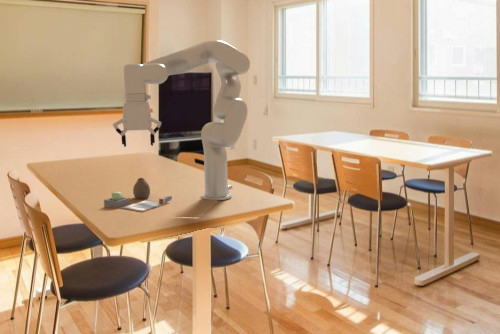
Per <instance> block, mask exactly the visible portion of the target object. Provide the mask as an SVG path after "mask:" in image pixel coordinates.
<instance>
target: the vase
mask: <svg viewBox="0 0 500 334" xmlns="http://www.w3.org/2000/svg"><path fill="white" fill-rule="evenodd" d="M132 192H133V196H134V198H135V199H137V200H147V199H148V198H149V197H150V195H151V188H150V185H149V183H148V182H147V180H145V178H144V177H140V178H137V180H136V182H135V184H134V185H133V189H132Z"/></svg>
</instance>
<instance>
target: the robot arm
mask: <svg viewBox="0 0 500 334" xmlns="http://www.w3.org/2000/svg"><path fill="white" fill-rule="evenodd" d="M250 61H251V60H250V58H249V57H248V55H247V54H245V53H244V52H243V51H241V50H239V49H237V48H236V47H234V46H233V45H230V43H227V42H226V41H223V40H220V39H216V40H215V39H214V40H206V41H203V42H200V43H198V44H195V45H192V46H189V47H186V48H184V49H182V50H178V51H176V52H173V53H172V52H171V53H170V54H168V55H165V56H160V57H158V58H155V59H152V60H150V61H147V62H145V63H142V64H141V63H127V64H125V65H124V66H123V81H124V82H123V83H124V96H125V97H124V99H125V100H124V101H125V102H123V105H122V118H121V119H119V120H117V121H115V122H114V123H112V126H113V128H114V130H115V131H116V133H118V134H119V135H120V136H121V145H123V148H125V147H127V138H126V133H127V132H128V131H147V130H148V131H149V133H150V135H149V137H150V146H151V147H152V146H154V144H155V140H156V139H155V134H157V132H158V131H160V128H161V126H162V121H159V120H158V119H155V118H153V117H152V114H151V113H152V111H151V107H150V102H149V101H148V100H150V99H151V94H147V85H161V84H163V83H164V82H166V81H167V80H168V78H169V76H172V75H181V74H186V73H189V72H192V71H194V70H196V69H198V68H201V67H204V66H206V65H209V64H211V63H213V64H214V63H215V68H216V71H217V73H218V75H219V77H220V87H219V90H218V92H217V97H216V99H215V102H214V105H213V108H212V115H213V117H214V118H215V119H217V120H219V121H222V122H219V121H211V122H208V123H205V124H204V126H202V129H201V131H200V138H201V143H202V148H203V163H204V164H203V165H204V167H203V169H204V173H203V174H204V192H203V193H202V194H201V196H200V197H201V198H202V199H203V200H211V201H225V200H229V199H230V198H232V193H230V192H229V191H230V190H232V189H233V187H234V186H233V185H232V184H229V185H228V153H227V152H228V151H227V148H232V147H234V146H235V145H236V144H238V141H239V139H240V138H241V137H240V136H241V134H242V132H243V129H244V126H245V123H246V121H247V116H248V106H247V104H246V102H245V101H244V100H243V99H241V98H239V97H240V94H241V91H242V90H241V89H242V85H241V80H240V78H239V75H240V76H241V75H244V74H246V73H247V72H248V71H249V69H250V67H251V63H250ZM152 123H154V124H156V126H155V127H154V128H152ZM121 124H122V126H123V130H121V129H120V128H119V127H118V126H119V125H121Z"/></svg>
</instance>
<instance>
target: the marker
mask: <svg viewBox="0 0 500 334" xmlns="http://www.w3.org/2000/svg"><path fill="white" fill-rule="evenodd" d="M172 199H173V196H172V195H167V196H164V197H160V198H159V199H158V202H159V203H169V201H171V200H172Z"/></svg>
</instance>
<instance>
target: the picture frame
mask: <svg viewBox="0 0 500 334" xmlns="http://www.w3.org/2000/svg"><path fill="white" fill-rule="evenodd" d="M166 205H169V202H165V203H159V201H158V200H157V201H156V200H152V199H151V200H149V199H143V200H141V201H138V202H135V203H130V204H129V205H126V206H123V207H119V208H118V209H120V210H126V211H131V212H137V213H145V212H148V211H150V210H153V209H157V208H160V207H163V206H166Z"/></svg>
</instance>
